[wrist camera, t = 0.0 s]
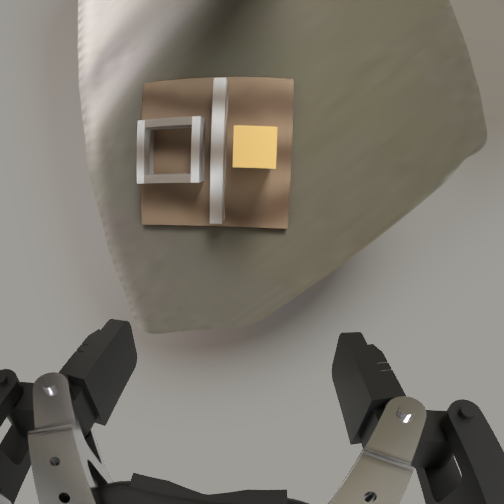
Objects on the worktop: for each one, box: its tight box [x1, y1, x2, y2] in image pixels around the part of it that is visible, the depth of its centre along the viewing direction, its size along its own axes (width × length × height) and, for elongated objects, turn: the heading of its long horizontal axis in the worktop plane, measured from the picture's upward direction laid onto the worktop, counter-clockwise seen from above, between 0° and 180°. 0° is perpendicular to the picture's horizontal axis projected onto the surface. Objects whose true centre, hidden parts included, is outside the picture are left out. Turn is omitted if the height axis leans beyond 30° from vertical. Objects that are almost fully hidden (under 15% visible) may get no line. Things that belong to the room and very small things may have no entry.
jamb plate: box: [137, 77, 294, 229], centre depth 33 cm, size 20×20×4 cm
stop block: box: [233, 125, 278, 169], centre depth 30 cm, size 4×4×10 cm
